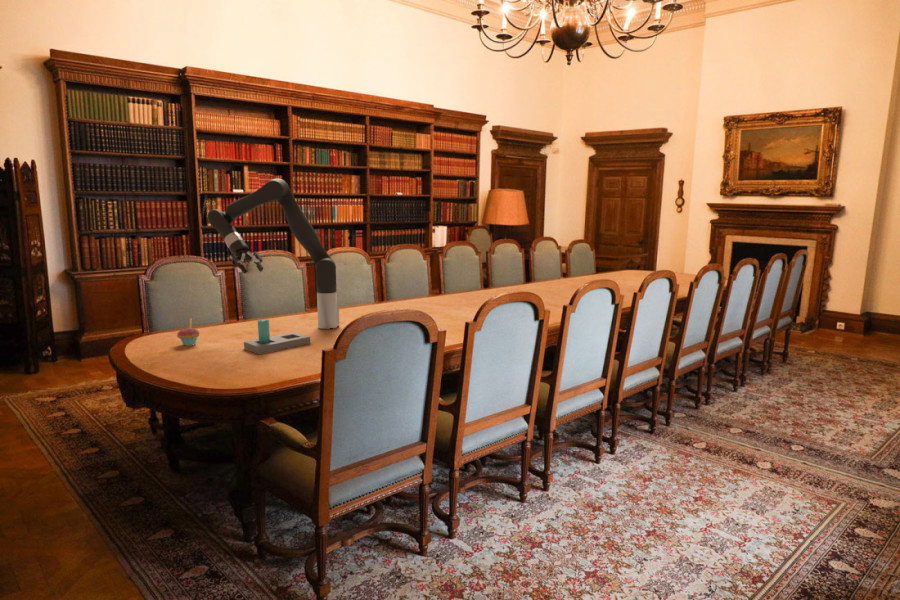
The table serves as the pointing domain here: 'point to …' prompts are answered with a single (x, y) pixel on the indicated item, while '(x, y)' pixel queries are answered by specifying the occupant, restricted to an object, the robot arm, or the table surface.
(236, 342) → the table surface
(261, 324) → the teal round-top peg
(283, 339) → the rack
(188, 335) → the cupcake
